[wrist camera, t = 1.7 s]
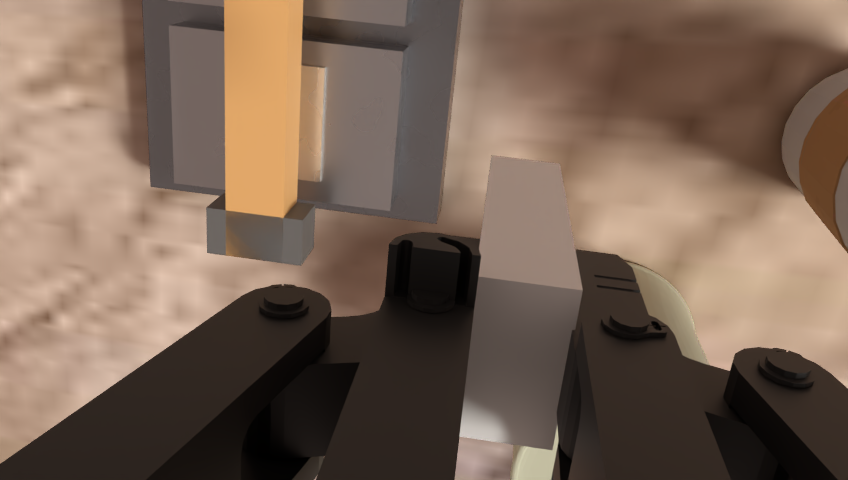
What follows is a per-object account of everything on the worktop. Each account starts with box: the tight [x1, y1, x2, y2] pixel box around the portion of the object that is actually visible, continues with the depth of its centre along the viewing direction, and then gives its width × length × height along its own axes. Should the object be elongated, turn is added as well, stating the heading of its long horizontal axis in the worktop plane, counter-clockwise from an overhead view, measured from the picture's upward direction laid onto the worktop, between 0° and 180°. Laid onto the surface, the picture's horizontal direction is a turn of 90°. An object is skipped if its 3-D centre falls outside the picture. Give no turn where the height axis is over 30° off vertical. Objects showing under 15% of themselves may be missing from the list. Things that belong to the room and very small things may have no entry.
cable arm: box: [206, 0, 315, 266], centre depth 28 cm, size 20×4×2 cm, turn 175°
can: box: [510, 261, 709, 480], centre depth 34 cm, size 9×9×12 cm
